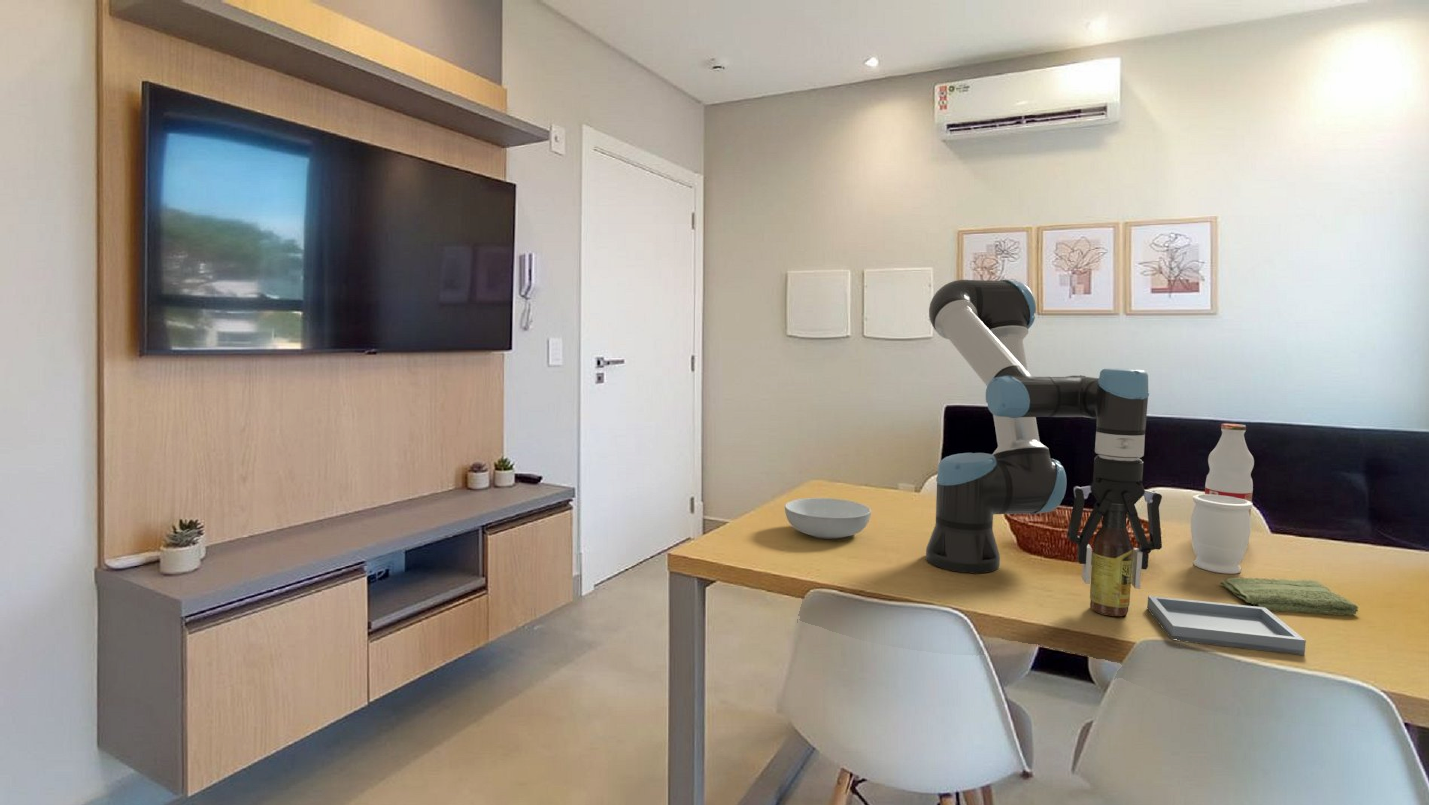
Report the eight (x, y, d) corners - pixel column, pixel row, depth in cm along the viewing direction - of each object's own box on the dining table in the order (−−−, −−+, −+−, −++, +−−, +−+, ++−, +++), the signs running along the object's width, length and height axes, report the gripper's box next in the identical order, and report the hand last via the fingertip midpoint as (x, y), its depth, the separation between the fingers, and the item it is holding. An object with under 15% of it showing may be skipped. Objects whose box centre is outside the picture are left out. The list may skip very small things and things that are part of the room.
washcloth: (1215, 587, 142) (1217, 571, 142) (1318, 594, 139) (1320, 578, 138) (1249, 611, 130) (1250, 594, 129) (1363, 621, 126) (1365, 603, 125)
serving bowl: (878, 547, 166) (879, 518, 165) (788, 546, 166) (788, 517, 165) (861, 523, 186) (862, 497, 186) (781, 522, 187) (781, 496, 186)
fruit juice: (1258, 542, 172) (1268, 426, 170) (1224, 543, 171) (1233, 427, 168) (1224, 531, 182) (1233, 422, 179) (1192, 532, 180) (1200, 422, 177)
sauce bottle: (1128, 621, 124) (1135, 508, 122) (1087, 613, 127) (1094, 503, 125) (1129, 609, 129) (1136, 501, 127) (1090, 601, 132) (1097, 496, 131)
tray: (1172, 640, 116) (1173, 625, 116) (1147, 608, 129) (1148, 595, 129) (1304, 655, 111) (1305, 640, 111) (1264, 620, 124) (1265, 607, 124)
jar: (1257, 578, 146) (1263, 506, 145) (1201, 574, 148) (1206, 503, 147) (1231, 562, 157) (1236, 494, 155) (1179, 558, 159) (1184, 492, 157)
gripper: (1059, 457, 125) (1052, 584, 127) (1192, 464, 119) (1182, 597, 121) (1052, 450, 132) (1045, 571, 134) (1177, 456, 126) (1167, 582, 128)
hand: (1110, 583), depth 128 cm, fingers open, 7 cm apart
